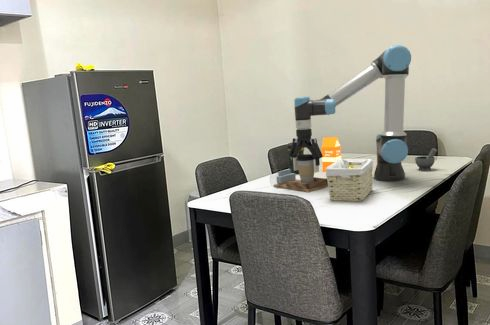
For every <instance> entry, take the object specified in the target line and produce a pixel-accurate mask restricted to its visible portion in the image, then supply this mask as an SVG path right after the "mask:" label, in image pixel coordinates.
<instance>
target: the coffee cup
mask: <svg viewBox="0 0 490 325" xmlns="http://www.w3.org/2000/svg"><path fill="white" fill-rule="evenodd" d="M314 159H315V158H314V157H313V155H312V154H310V153H308V154H307V153H306V154H304V155H298V156H297V158H296V160H297V161H298V169H299V174H298V175H299V178H300V179H299V180H301V183H307V184H308V183H312V182H314V176H315V173H314Z"/></svg>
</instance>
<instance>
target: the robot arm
mask: <svg viewBox="0 0 490 325" xmlns="http://www.w3.org/2000/svg"><path fill="white" fill-rule="evenodd" d="M411 62H412V54H411V51H410V50H409V49H408V47H406V46H405V45H401V44H396V45H391V46H390V47H388V48H387V49H385V50H384V51H383V52H382V53H381V54H380V55H378V56H377V58H376V59H374V60H372V62H371V63H370V65H369V66H367V67H365V68H364V69H363V70H361V71H359V73H357V74H355V75H354V76H352V77H351V78H350V79H348V80H346V82H343V83H342V84H341V85H339V86H338V87H337V88H335V89H334V90H332V91H330V92H329V93H328V94H326V95H325V96H323V97H322V98H320V99H316V100H314V99H313V100H312V99H310V96H299V97H298V96H297V97H295V98H294V116H295V118H294V119H295V128H296V131H295V134H296V135H295V136H296V137H295V138H292V142H293V143H292V142H291V143H292V146H291V150H290V153H289V152H288V157H289V156H291V157H292V160H293V164H294V171H296V170H299V169H298V161H297V160H296V158H297V155H298V153H299V151H300V150H301V148H303V147H304V149H305V148H306V149H307V150H308V151H309V152H310V153H311V154H312V155H313V157H314V158H315V159H314V174H315V173H320V165H321V164H320V159H322V157H323V155H322V150H321V148H320V147H319V145H318V139H317V138H315V137H314V138H312V134H313V133H312V118H311V117H312V116H313V117H314V116H330V115H335V114H336V108H337V107H338V106H339V105H341V104H342V103H343V102H346V101H347V100H348V99H349V98H351V97H353V96H354V95H356V94H357V93H358V92H361V91H362V90H363V89H364V88H366V87H367V86H369V85H370V84H372V83H374V82H376V80H378V79H384V80H385V81H384V83H385V84H384V85H385V86H384V118H383V119H384V120H383V121H384V122H383V132H381V133H380V134H377V135H376V137H375V138H376V139H375V142H376V143H375V144H376V167H375V170H374V173H373V179H374V180H376V181H381V182H394V181H402V180H404V179H406V173H405V170H404V166H403V165H402V162H403V161H404V160H405V159H406V158H407V156H408V154H409V149H408V148H409V147H408V145H407V135H408V134H407V133H406V132H405V131H404V120H405V119H404V116H405V88H406V78H407V77H408V76H409V75H410V72H409V71H410V67H409V66H410V65H411ZM297 143H298V145H297ZM296 146H297V147H296Z"/></svg>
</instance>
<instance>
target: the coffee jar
mask: <svg viewBox="0 0 490 325" xmlns="http://www.w3.org/2000/svg"><path fill="white" fill-rule="evenodd" d="M292 143H293V141H292V142H289V143H288V144H287V152H288V154H289V153H290V150H291V146H292ZM297 145H298V143H297ZM296 147H297V146H296ZM304 151H305V148H304V147H303V148H301V150H300V151H299V153H298V155H304ZM298 155H297V156H298ZM288 157H289V160H288V161H289V164H288V169H291V173H295V175H299V170H296V171H294V164H293V160H292V157H291V156H289V155H288Z"/></svg>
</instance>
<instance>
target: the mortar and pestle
mask: <svg viewBox="0 0 490 325" xmlns="http://www.w3.org/2000/svg"><path fill="white" fill-rule="evenodd" d="M437 152H438V150H437V149H436V148H435V147H434V148H433V147H432V148H431V151H430V152H429V153H428V155H426V156H425V155H423V156H416V157H414V161H415V164H416V165H417V167H418V171H419V170H421V171H420V172H428V171H427V170H430V171H432V166H434V164H435V155H436V153H437Z"/></svg>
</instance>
